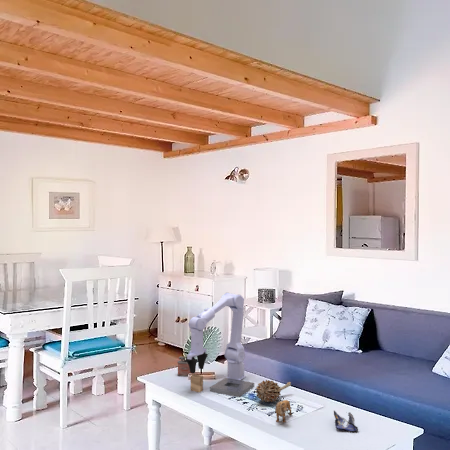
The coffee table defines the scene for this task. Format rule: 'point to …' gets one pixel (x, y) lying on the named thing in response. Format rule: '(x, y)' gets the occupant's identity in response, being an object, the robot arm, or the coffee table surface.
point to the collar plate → (232, 387)
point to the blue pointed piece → (341, 421)
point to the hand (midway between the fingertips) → (196, 370)
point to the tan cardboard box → (196, 383)
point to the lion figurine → (282, 409)
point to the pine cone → (269, 390)
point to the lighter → (183, 368)
